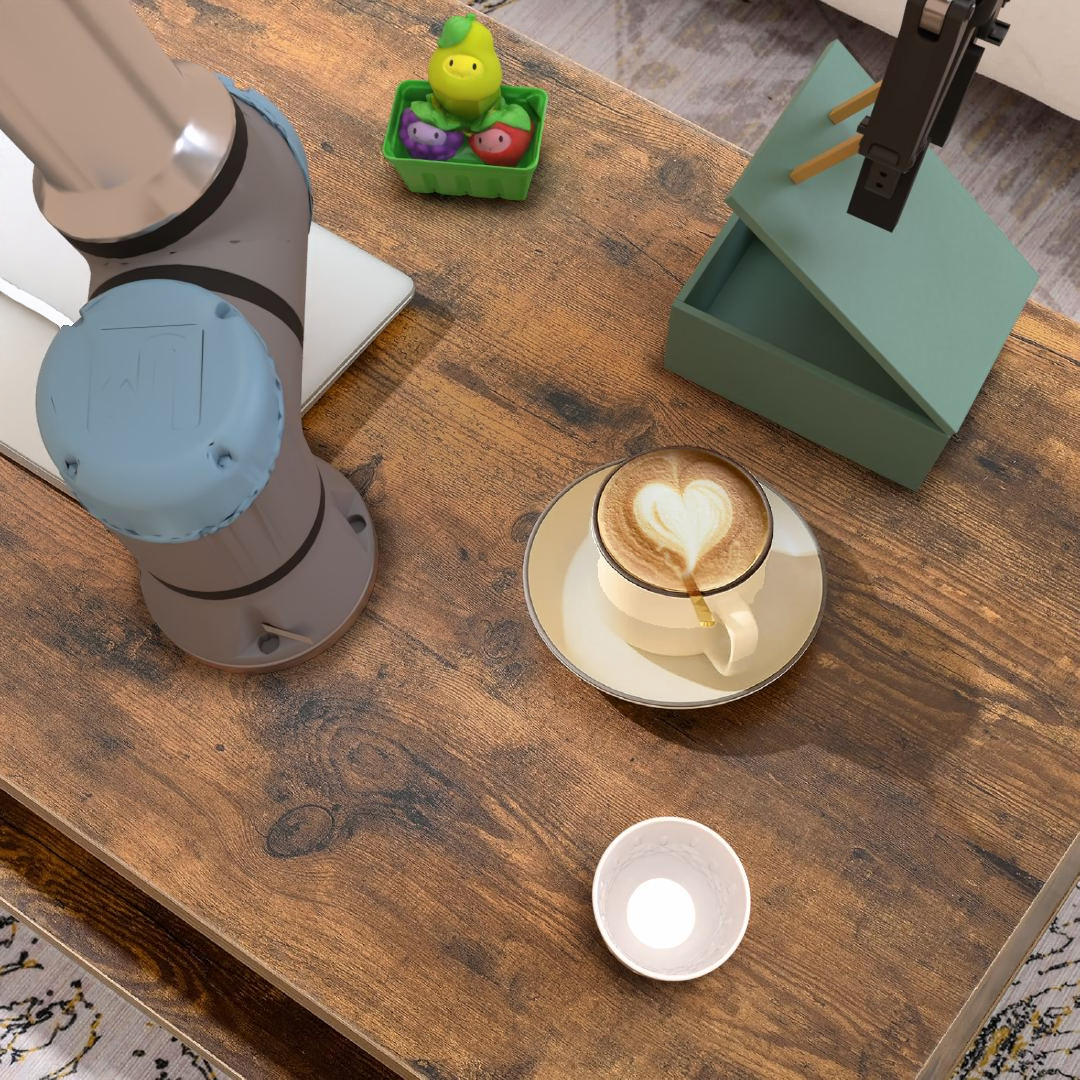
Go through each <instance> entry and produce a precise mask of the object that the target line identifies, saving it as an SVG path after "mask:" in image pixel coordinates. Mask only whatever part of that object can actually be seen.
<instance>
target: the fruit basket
mask: <svg viewBox="0 0 1080 1080" xmlns="http://www.w3.org/2000/svg"><path fill="white" fill-rule="evenodd" d="M476 19H477V15H476V14H475V13H473V12H468V13H465V16H462V15H453V16H451V17H450V18H448V19H447V20H446V22H445V23H444V25H443V27H442V30H441V34H440V37H439V38H438V39H437V41H436V46H437V47H436V49H435V50H434V52H433V53H432V55H431V57H430V59H429V63H428V67H427V70H426V71H427V72H426V73H427V79H405V80H402V81H401V82H400V83H399V84H398V85H397V86H396V88H395V93H394V98H393V101H392V106H391V110H390V115H389V119H388V123H387V126H386V127H387V128H386V131H385V135H384V138H383V144H382V150H381V151H382V152H381V153H382V155H383V156H384V157H385V159H386V160H387V161H388V163H390V164H391V165H392V166H393V167H394V168H395V170H396V172H397V173H398V175H399V176H400V177H401V179H402V181H403V182H404V184H405V185H406V187H407V189H408V190H409V192H412V193H421V194H430V193H435V192H436V193H437V194H440V195H444V196H458V197H460V196H466V195H468V196H471V197H473V198H485V199H495V198H499V197H500V198H502V199H504V200H508V201H509V200H510V201H512V200H513V201H522V202H523V201H525V200H526V198H527V195H528V192H529V188H530V185H531V182H532V177H533V174H534V172H535V171H536V169H537V166H538V163H539V159H540V152H541V143H542V137H543V130H544V125H545V120H546V114H547V109H548V103H549V95H548V93H547V91H546V90H544V89H542V88H539V87H531V86H530V87H527V86H516V85H503V84H502V82H503V70H502V66H501V62H500V59H499V57H498V54H497V52H496V50H495V43H494V38H493V37H494V36H493V33H492V31H490V29H489V28H488V27H486V26H485V25H484V24H482V22H479V21H477V20H476Z"/></svg>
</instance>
